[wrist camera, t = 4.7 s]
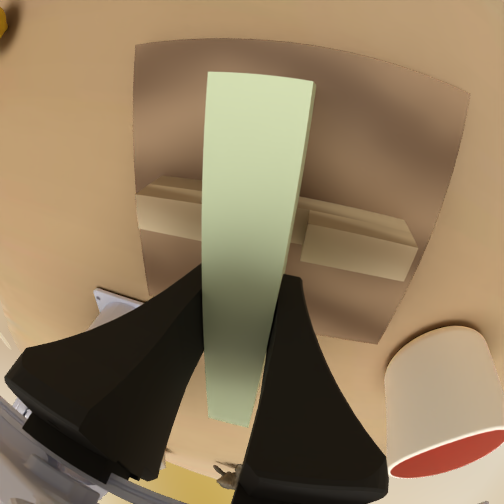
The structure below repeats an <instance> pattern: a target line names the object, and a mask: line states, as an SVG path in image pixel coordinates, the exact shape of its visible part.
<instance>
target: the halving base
mask: <svg viewBox="0 0 504 504" xmlns="http://www.w3.org/2000/svg"><path fill="white" fill-rule="evenodd" d="M208 72H233V73H249V74H261V75H271V76H280V77H288V78H295V79H302V80H308V81H314V83H315V84H316V92H315V99H314V106H313V113H312V120H311V126H310V133H309V140H308V146H307V152H306V158H305V165H304V171H303V177H302V183H301V188H300V194H299V200H298V205H297V210H296V215H295V220H294V225H293V231H292V236H291V241H290V247H289V252H288V257H287V264H286V269H285V274H287V275H292V276H297V277H300V278H301V279H302V280H303V290H304V296H305V300H306V305H307V309H308V313H309V316H310V319H311V323H312V326H313V329H314V332H315V334H316V335H322V336H328V337H333V338H339V339H345V340H351V341H358V342H364V343H371V344H378V342H379V341H380V339H381V337H382V335H383V334H384V332H385V330H386V328H387V327H388V325H389V323H390V321H391V319H392V317H393V316H394V314H395V312H396V310H397V308H398V306H399V304H400V302H401V300H402V298H403V296H404V294H405V292H406V290H407V288H408V286H409V284H410V282H411V280H412V278H413V276H414V274H415V271H416V269H417V267H418V265H419V262H420V260H421V258H422V256H423V253H424V251H425V249H426V246H427V244H428V241H429V239H430V236H431V234H432V231H433V229H434V226H435V223H436V221H437V218H438V215H439V213H440V210H441V207H442V204H443V201H444V198H445V195H446V192H447V189H448V186H449V183H450V179H451V176H452V173H453V169H454V166H455V162H456V158H457V155H458V151H459V147H460V143H461V139H462V134H463V130H464V125H465V120H466V115H467V110H468V105H469V99H470V93H468V92H466V91H464V90H461V89H459V88H457V87H455V86H452V85H450V84H448V83H445V82H443V81H441V80H438V79H436V78H433V77H430V76H428V75H425V74H422V73H420V72H417V71H414V70H411V69H408V68H405V67H402V66H399V65H396V64H392V63H389V62H386V61H382V60H379V59H375V58H371V57H367V56H363V55H359V54H355V53H350V52H346V51H341V50H336V49H331V48H325V47H319V46H313V45H306V44H299V43H291V42H282V41H271V40H256V39H224V38H220V39H188V40H173V41H163V42H154V43H146V44H138V45H136V46H135V61H134V82H133V146H134V168H135V184H136V194H135V200H136V210H137V220H138V229H140V236H141V244H142V252H143V259H144V266H145V273H146V279H147V285H148V291H149V295H151V296H154V297H155V296H156V295H158V294H159V293H161V292H162V291H164V290H165V289H167V288H168V287H169V286H171V285H172V284H174V283H175V282H176V281H178V280H179V279H181V278H182V277H183V276H185V275H186V274H187V273H189V272H190V271H191V270H193V269H194V268H195V267H197V266H198V265H199V264H200V263H202V175H203V146H204V125H205V107H206V92H207V78H208Z"/></svg>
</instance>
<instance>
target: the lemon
mask: <svg viewBox="0 0 504 504" xmlns="http://www.w3.org/2000/svg"><path fill="white" fill-rule="evenodd" d="M7 28H8V25H7V23H6V15H5V12H4V10H3V9H2V8H1V7H0V39H1V37H2V35H3V33H4V32H5V31H6V30H7Z"/></svg>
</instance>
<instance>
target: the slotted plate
mask: <svg viewBox="0 0 504 504" xmlns="http://www.w3.org/2000/svg"><path fill="white" fill-rule="evenodd" d="M315 92H316V84H315V83H314V81H308V80H302V79H295V78H288V77H280V76H271V75H261V74H249V73H233V72H208V78H207V92H206V107H205V125H204V146H203V175H202V306H203V335H204V356H205V374H206V390H207V404H208V417H209V418H212V419H216V420H219V421H223V422H227V423H231V424H235V425H239V426H243V427H247V428H248V427H249V423H250V419H251V415H252V412H253V408H254V404H255V400H256V396H257V392H258V388H259V385H260V381H261V377H262V373H263V369H264V364H265V359H266V352H267V346H268V341H269V337H270V332H271V327H272V323H273V318H274V313H275V308H276V303H277V299H278V294H279V289H280V285H281V281H282V277H283V274H285V269H286V264H287V257H288V252H289V247H290V241H291V236H292V231H293V225H294V220H295V215H296V210H297V205H298V200H299V194H300V188H301V183H302V177H303V171H304V165H305V158H306V152H307V146H308V140H309V133H310V126H311V120H312V113H313V106H314V99H315Z"/></svg>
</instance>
